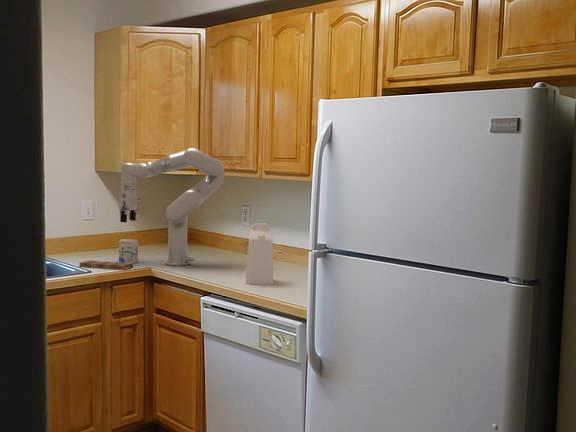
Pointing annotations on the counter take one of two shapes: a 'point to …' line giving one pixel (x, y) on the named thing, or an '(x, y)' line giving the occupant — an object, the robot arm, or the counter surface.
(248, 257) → the milk
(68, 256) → the counter surface
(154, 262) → the counter surface
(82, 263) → the board
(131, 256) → the ink box
